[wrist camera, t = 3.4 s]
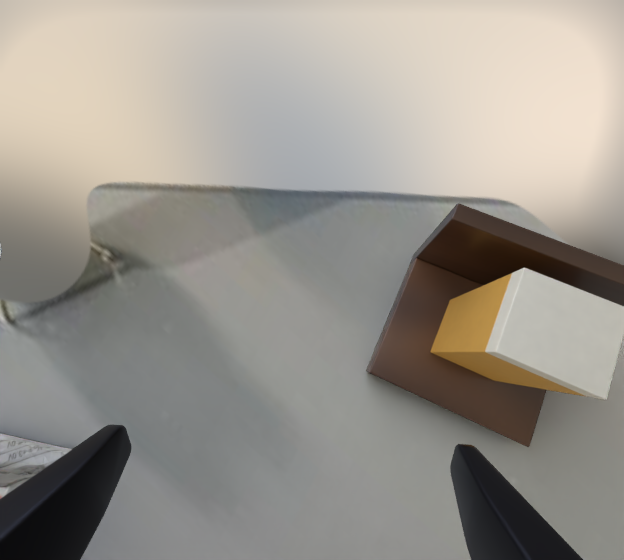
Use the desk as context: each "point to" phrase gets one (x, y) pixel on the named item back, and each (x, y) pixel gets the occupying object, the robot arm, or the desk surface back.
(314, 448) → the desk surface
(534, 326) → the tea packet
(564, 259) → the shelf
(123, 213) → the desk surface
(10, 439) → the packaged product
